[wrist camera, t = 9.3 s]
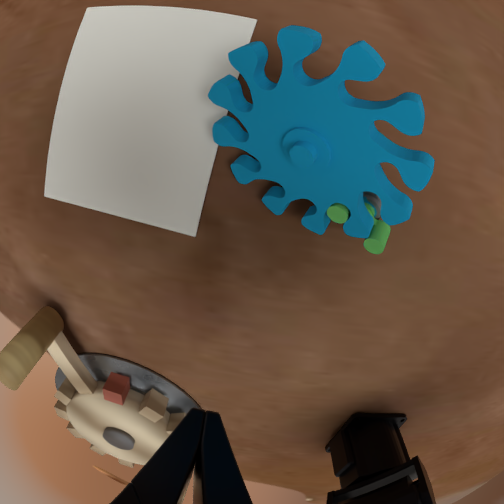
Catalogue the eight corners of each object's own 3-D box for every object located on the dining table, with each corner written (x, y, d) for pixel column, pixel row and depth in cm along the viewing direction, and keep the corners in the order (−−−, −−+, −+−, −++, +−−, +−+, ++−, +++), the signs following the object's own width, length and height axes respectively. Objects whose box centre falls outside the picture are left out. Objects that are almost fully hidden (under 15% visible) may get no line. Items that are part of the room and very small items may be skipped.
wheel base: (225, 387, 22) (225, 390, 22) (196, 467, 28) (196, 469, 27) (45, 327, 20) (44, 329, 20) (69, 425, 26) (68, 427, 26)
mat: (257, 20, 13) (257, 19, 13) (195, 236, 17) (195, 236, 17) (88, 8, 12) (87, 7, 12) (45, 196, 16) (44, 196, 16)
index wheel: (45, 300, 18) (-8, 355, 12) (229, 429, 23) (223, 497, 16) (16, 375, 22) (-14, 418, 16) (152, 466, 27) (141, 514, 20)
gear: (166, 106, 13) (333, -23, 5) (235, 65, 16) (375, -18, 8) (289, 264, 18) (463, 261, 10) (328, 201, 20) (469, 179, 13)
